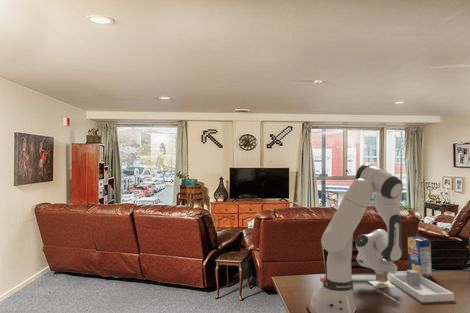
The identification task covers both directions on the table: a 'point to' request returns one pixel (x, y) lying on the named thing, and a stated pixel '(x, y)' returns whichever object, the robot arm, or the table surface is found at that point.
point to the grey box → (413, 277)
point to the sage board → (381, 284)
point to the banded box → (381, 276)
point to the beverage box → (420, 255)
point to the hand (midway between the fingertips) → (381, 272)
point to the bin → (423, 289)
